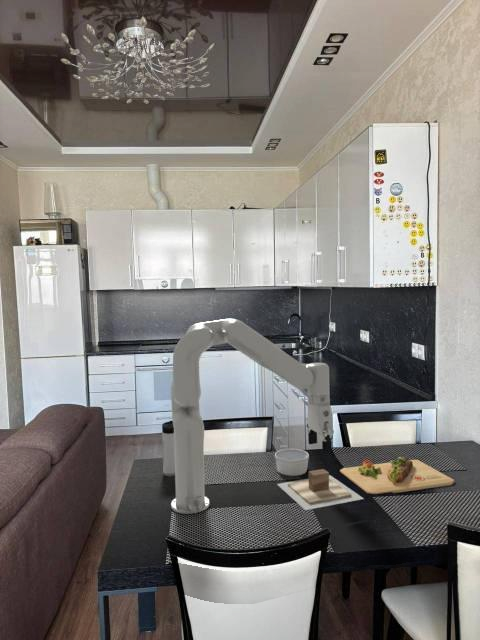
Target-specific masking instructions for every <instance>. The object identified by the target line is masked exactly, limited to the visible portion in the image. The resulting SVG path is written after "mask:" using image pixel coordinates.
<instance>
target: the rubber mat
mask: <svg viewBox="0 0 480 640" xmlns="http://www.w3.org/2000/svg"><path fill="white" fill-rule="evenodd" d="M329 479H331V480H332V481H333V482H335V483H336V484H338V485H339V486H340V487H342V488H343V489H345V490H346V491H348V492H349V493H350V494H351V497H347V498H341V499H336V500H331V501H326V502H320V503H315V504H310V505H309V504H308V503H307V502H306V501H305V500H303V499H302V498H301V497H300V496H299V495H298V494H297V493H295V492H294V491H293V490H292V489H291V488H290V487H289V486H288V484H289V483H295V482H301V481H307V480H309V478H305V479H299V480H294V481H293V480H292V481H288V482H287V481H286V482H281V483H276V485H277V486H278V487H279V488H280V489H281V490H283V491H284V493H286V494H287V495H288V496H289V497H290V498H291V499H292V500H293V501H295V502H296V503H297V504H298V505H299V506H300V507H301V508H302V509H303V510H305V511H308V510H313V509H319V508H324V507H330V506H335V505H339V504H345V503H350V502H355V501H360V500H364V499H365V498H364V497H362V496H361V495H360V494H358V493H357V492H355V491H354V490H352V489H351V488H349V487H348V486H347V485H345V484H344V483H342V482H341V481H340V480H338V479H336V478H334V477H333V476H332V475H330V474H329Z"/></svg>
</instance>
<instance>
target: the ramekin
mask: <svg viewBox="0 0 480 640" xmlns="http://www.w3.org/2000/svg"><path fill="white" fill-rule="evenodd" d="M274 459H275V465H276V470H277V472H278V473H279V474H281V475H285V476H290V477H291V476H293V477H294V476H302V475H304V474H306V472H307V470H308V466H309V459H310V455H309V452H307V451H306V450H302V449H299V448H298V449H297V448H284V449H280V450H278V451H276V452H275V453H274Z"/></svg>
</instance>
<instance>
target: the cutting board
mask: <svg viewBox="0 0 480 640" xmlns="http://www.w3.org/2000/svg"><path fill="white" fill-rule="evenodd" d="M339 472H340V473H341V474H342V475H343V476H345V477H346V478H347V479H348V480H350V481H351V482H352V483H354V484H355V485H357V487H359V488H360V489H362V490H363V491H364V492H365V493H366V494H371V495H378V494H384V493H385V494H386V493H393V494H398V493H405V492H406V493H407V492H410V491H418V490H424V489H433V488H439V487H440V488H441V487H446V486H452V485H453V484H454V483H455V479H454V478H451V477H450V476H448V475H447V474H445V473H442V472H440V471H438V470H437V469H435V468H433V467H431V466H430V465H428V464H426V463H424V462H422V461H420V460H419V459H409V458H406V457H405V456H403V457H402V456H398V459H397V460H390V461H389V462H383V463H376V464H373V463H372V462H371V461H370V460H369V459H365V460H363V462H362V465H359V466H351V467H343V468H341V469H340V470H339Z"/></svg>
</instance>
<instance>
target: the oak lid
mask: <svg viewBox="0 0 480 640" xmlns="http://www.w3.org/2000/svg"><path fill="white" fill-rule="evenodd" d="M329 475H330V472H329V471H327V470H326V469H324V468H321V469H316V470H311V471H310V470H309V471H308V479H309V480H307V481H301V482H295V483H289V484H288V486H289V487H290V488H291V489H292V490H293V491H294V492H295V493H297V494H298V495H299V496H300V497H301V498H302V499H303V500H305V501H306V502H307V503H308V504H309V505H310V504H315V503H320V502H326V501H331V500H336V499H341V498H347V497H351V494H350V493H349V492H348V491H346V490H345V489H343V488H342V487H340V486H339V485H338V484H336V483H335V482H333V481H332V480H331V479H329Z"/></svg>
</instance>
